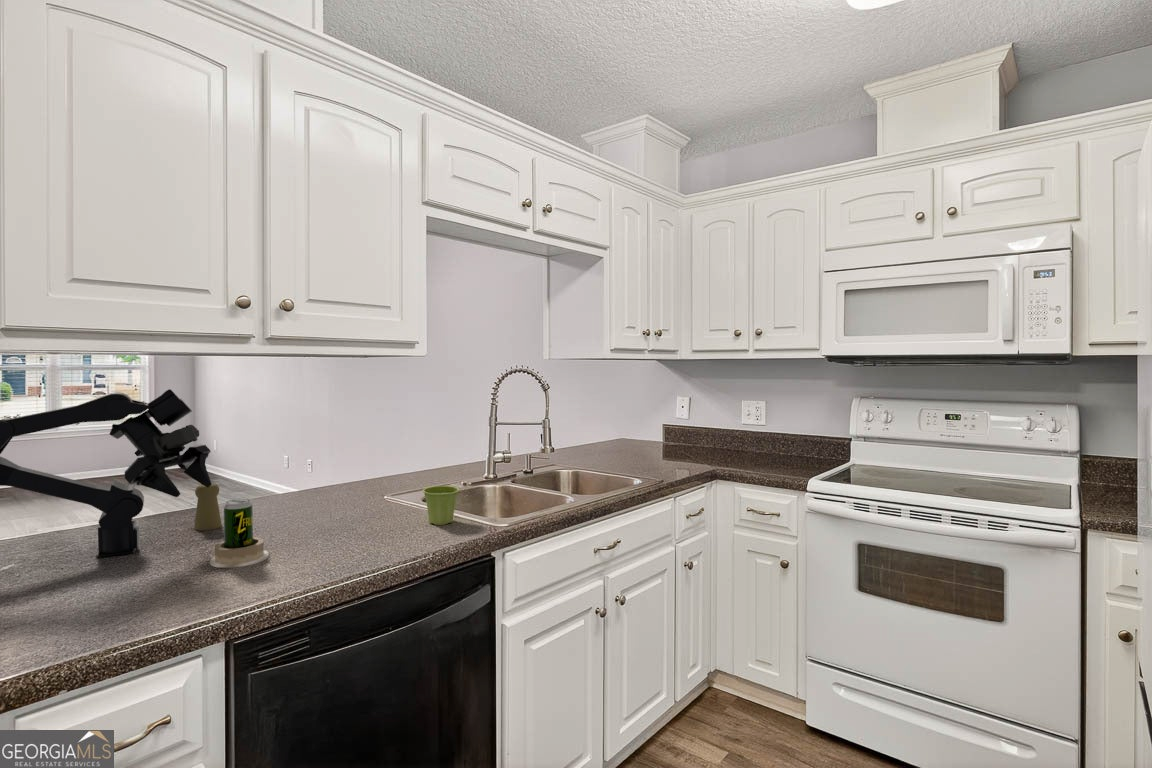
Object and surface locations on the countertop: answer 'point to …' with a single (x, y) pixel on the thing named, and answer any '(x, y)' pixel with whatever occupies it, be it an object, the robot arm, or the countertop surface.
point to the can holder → (239, 555)
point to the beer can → (238, 523)
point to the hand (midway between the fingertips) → (194, 490)
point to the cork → (207, 508)
